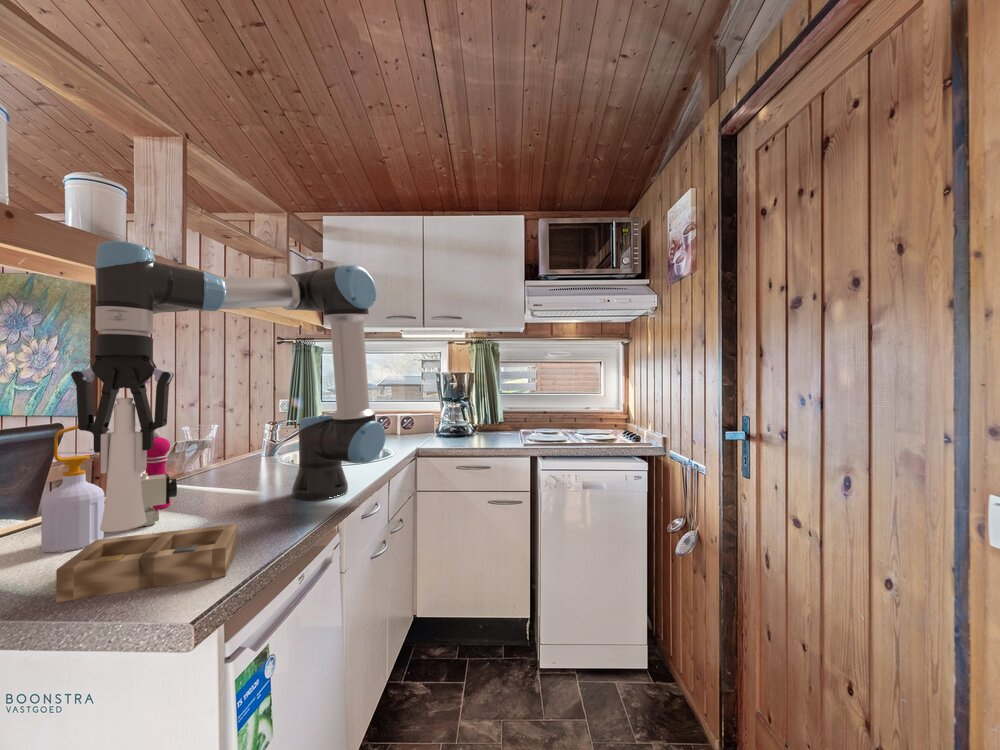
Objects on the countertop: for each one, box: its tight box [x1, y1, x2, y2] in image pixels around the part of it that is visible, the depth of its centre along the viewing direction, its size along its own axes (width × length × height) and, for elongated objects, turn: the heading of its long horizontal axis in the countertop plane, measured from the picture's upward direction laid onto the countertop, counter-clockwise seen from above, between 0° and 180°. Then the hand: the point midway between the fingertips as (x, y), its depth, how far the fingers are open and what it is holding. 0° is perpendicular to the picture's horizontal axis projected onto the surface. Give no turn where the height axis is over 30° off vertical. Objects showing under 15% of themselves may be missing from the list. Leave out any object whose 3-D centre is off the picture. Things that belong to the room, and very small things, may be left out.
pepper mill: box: [145, 430, 171, 511], centre depth 113 cm, size 7×7×20 cm
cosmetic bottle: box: [100, 397, 147, 533], centre depth 74 cm, size 6×6×22 cm
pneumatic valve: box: [136, 472, 178, 529], centre depth 100 cm, size 6×12×12 cm, turn 131°
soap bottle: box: [40, 424, 105, 553], centre depth 88 cm, size 9×9×25 cm
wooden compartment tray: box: [55, 523, 239, 603], centre depth 76 cm, size 22×13×5 cm, turn 114°
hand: (124, 470), depth 74 cm, fingers closed on cosmetic bottle, 4 cm apart
